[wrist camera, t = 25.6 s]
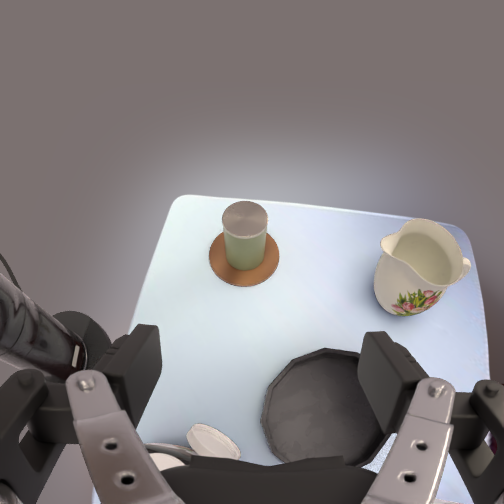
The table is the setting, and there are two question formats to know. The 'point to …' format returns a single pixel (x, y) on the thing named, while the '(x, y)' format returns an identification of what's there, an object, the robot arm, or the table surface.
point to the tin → (245, 234)
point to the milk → (444, 502)
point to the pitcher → (417, 267)
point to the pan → (321, 411)
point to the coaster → (239, 276)
